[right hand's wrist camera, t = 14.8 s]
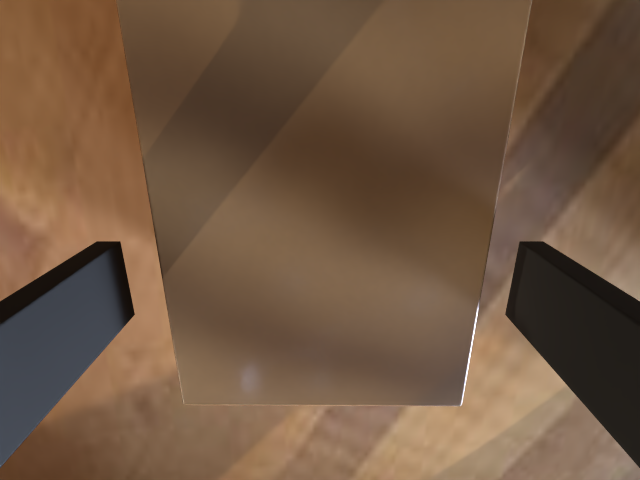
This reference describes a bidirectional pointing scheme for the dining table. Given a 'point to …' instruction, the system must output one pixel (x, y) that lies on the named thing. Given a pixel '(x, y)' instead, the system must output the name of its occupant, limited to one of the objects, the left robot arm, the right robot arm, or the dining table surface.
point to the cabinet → (323, 189)
